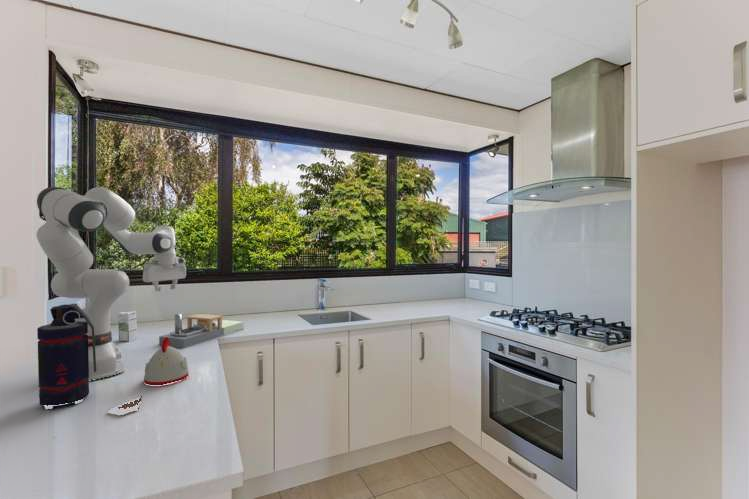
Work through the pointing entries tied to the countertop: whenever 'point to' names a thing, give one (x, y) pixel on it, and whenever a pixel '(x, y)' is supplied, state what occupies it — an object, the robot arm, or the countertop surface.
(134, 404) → the shard
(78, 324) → the grenade
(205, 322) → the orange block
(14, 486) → the countertop surface
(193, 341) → the tunnel deck
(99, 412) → the countertop surface
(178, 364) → the grey dome
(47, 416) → the countertop surface
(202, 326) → the slider
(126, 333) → the syrup box
